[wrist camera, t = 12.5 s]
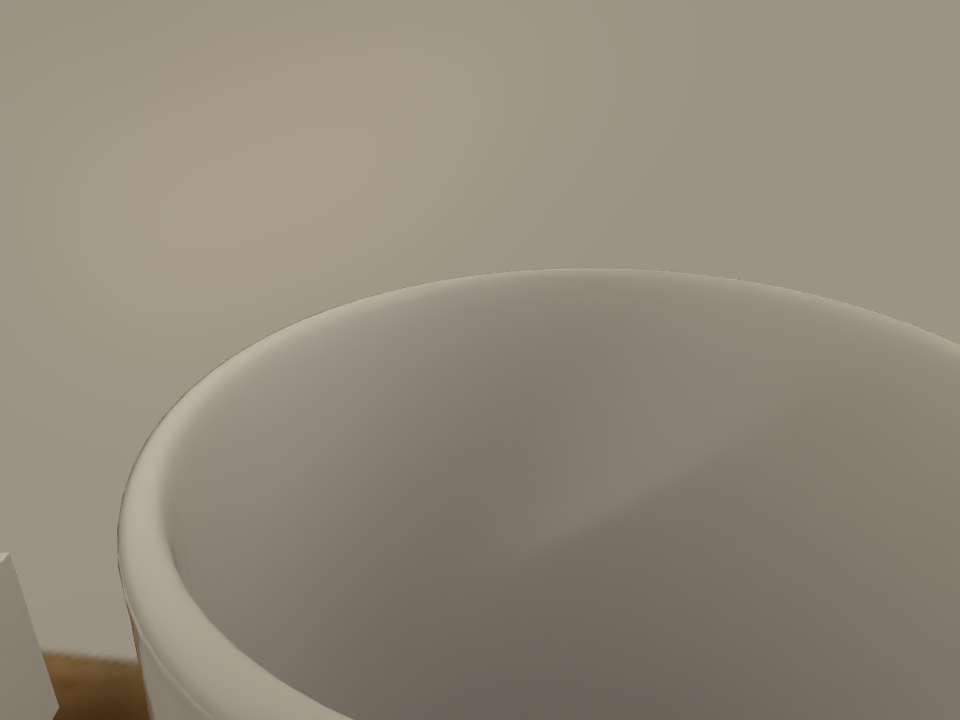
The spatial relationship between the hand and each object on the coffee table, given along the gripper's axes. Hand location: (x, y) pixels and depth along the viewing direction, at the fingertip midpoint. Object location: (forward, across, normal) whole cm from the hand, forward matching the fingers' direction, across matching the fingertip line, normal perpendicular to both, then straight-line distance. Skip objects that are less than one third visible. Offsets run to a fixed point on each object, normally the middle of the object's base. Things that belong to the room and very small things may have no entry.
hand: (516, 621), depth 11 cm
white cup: (-3, +1, -10) cm, 11 cm away
